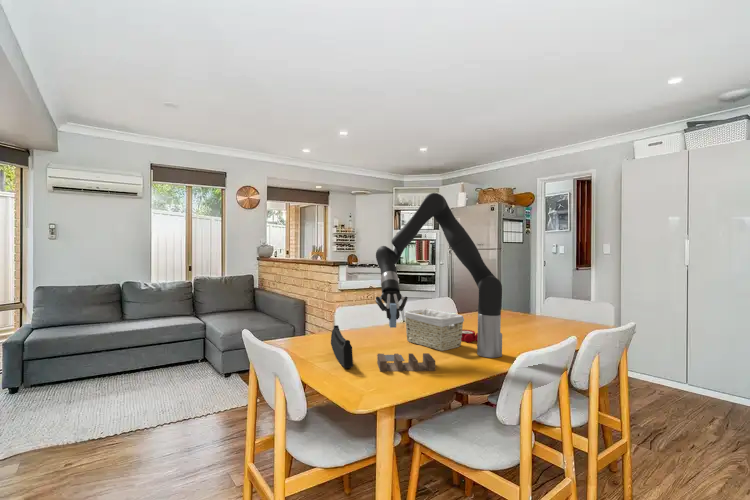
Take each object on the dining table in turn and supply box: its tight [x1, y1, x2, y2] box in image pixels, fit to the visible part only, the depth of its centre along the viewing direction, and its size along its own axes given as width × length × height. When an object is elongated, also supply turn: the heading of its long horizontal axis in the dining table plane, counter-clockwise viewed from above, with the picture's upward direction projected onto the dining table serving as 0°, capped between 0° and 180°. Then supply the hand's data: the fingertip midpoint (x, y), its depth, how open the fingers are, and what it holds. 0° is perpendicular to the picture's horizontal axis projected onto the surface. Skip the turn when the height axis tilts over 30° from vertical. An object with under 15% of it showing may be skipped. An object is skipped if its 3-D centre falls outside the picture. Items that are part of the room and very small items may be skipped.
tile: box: [388, 303, 397, 329], centre depth 156 cm, size 2×4×9 cm, turn 5°
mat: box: [384, 354, 405, 362], centre depth 157 cm, size 10×9×1 cm
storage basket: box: [404, 308, 465, 352], centre depth 182 cm, size 24×16×15 cm
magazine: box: [330, 324, 354, 369], centre depth 154 cm, size 17×3×30 cm
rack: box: [376, 353, 436, 373], centre depth 145 cm, size 20×10×4 cm, turn 95°
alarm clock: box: [461, 329, 478, 343], centre depth 192 cm, size 10×6×15 cm
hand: (393, 318), depth 154 cm, fingers closed on tile, 2 cm apart
